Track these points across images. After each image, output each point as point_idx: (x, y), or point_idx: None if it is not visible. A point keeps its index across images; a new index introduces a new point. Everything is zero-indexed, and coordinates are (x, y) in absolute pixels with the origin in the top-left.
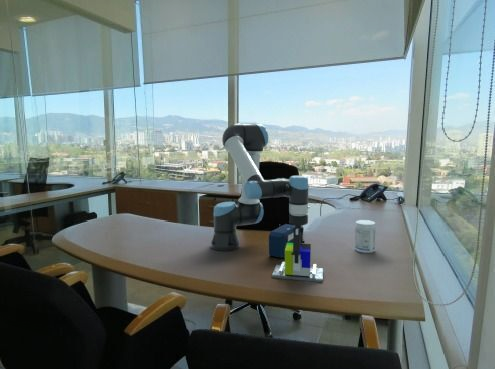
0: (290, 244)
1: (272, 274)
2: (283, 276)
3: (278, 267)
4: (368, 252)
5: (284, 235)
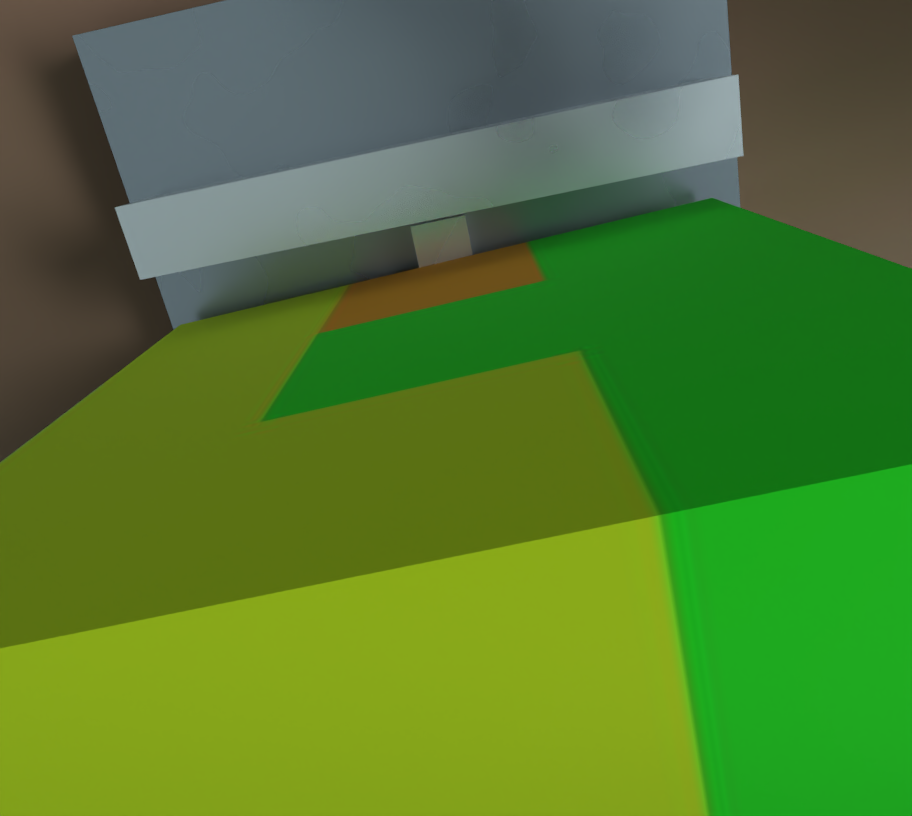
0: (885, 691)
1: (85, 40)
2: (166, 294)
3: (549, 21)
4: None
5: None
